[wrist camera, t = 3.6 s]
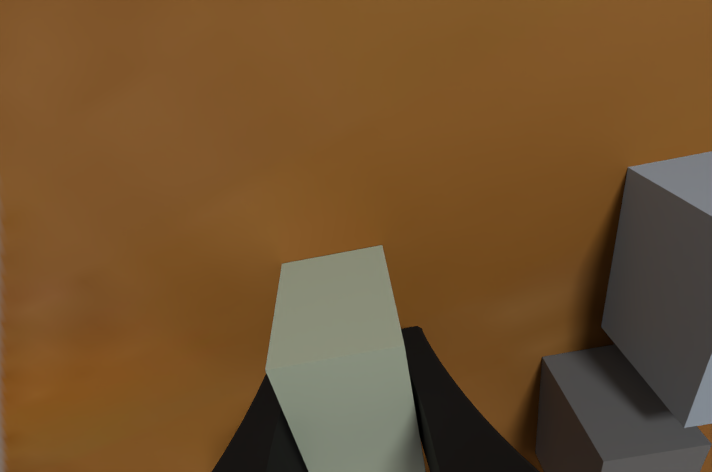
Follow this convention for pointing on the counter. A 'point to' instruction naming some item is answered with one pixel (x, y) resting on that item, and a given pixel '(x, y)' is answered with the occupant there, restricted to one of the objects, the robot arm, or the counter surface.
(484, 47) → the counter surface
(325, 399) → the sage brick
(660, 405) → the charcoal brick
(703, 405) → the blue brick
